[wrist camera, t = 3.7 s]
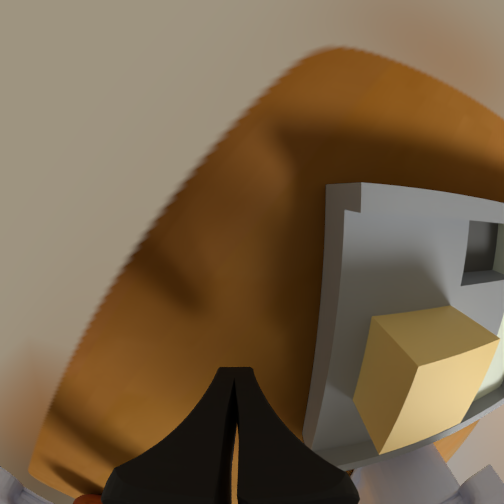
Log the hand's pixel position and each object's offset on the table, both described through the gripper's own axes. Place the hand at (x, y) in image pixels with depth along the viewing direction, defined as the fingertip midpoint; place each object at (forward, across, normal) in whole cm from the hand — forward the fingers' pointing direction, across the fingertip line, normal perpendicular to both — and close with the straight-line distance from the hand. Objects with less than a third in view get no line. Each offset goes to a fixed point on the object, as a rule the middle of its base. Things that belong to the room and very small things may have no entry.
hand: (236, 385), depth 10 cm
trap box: (+3, -14, 0) cm, 14 cm away
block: (+1, -8, 0) cm, 8 cm away
